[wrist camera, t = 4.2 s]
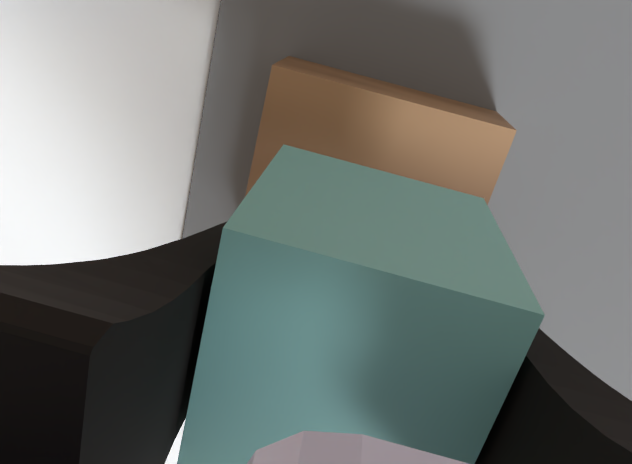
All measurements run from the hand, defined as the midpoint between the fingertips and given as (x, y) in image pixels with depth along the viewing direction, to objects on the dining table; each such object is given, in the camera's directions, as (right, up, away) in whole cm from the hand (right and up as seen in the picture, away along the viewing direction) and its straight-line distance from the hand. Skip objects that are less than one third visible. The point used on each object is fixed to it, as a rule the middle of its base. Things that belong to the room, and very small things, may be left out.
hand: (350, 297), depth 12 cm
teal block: (0, +1, +1) cm, 1 cm away
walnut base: (+1, +3, +8) cm, 8 cm away
